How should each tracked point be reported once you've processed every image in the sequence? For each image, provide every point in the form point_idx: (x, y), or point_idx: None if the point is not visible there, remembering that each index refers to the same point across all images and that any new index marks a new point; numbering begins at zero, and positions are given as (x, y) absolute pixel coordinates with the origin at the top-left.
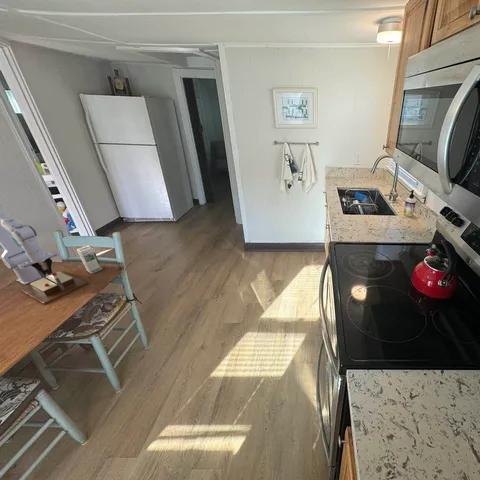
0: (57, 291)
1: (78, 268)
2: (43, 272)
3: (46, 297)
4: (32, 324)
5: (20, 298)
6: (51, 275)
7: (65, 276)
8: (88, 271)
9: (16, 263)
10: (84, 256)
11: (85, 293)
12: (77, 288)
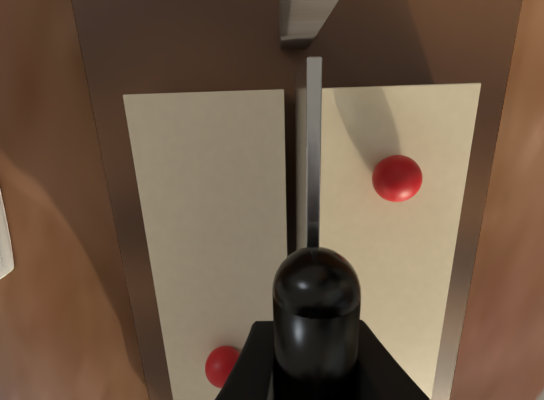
0: (335, 80)
1: (62, 377)
2: (385, 369)
3: (451, 54)
4: None
5: (509, 301)
6: (318, 191)
7: (169, 225)
8: (2, 235)
9: None
10: None
11: None
12: None
